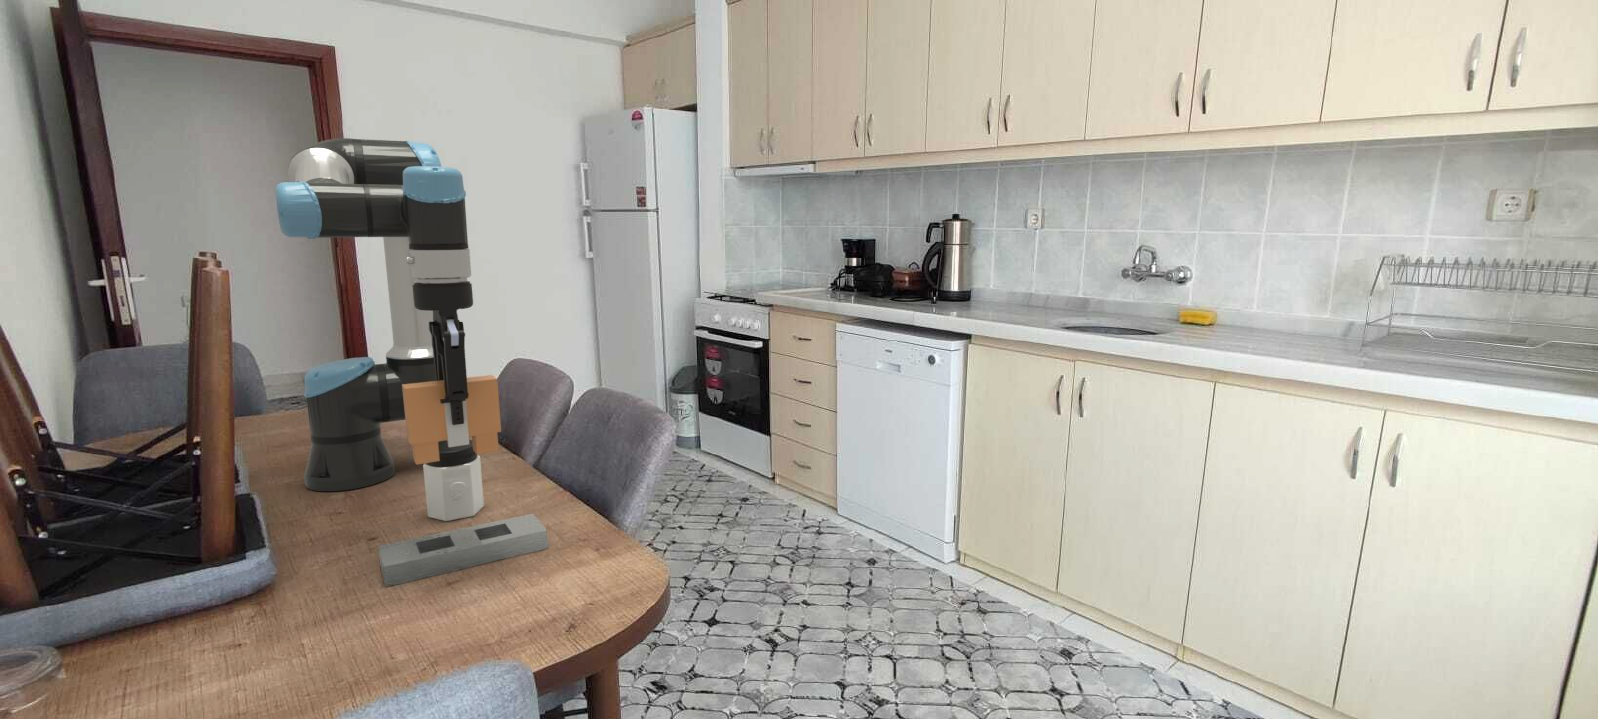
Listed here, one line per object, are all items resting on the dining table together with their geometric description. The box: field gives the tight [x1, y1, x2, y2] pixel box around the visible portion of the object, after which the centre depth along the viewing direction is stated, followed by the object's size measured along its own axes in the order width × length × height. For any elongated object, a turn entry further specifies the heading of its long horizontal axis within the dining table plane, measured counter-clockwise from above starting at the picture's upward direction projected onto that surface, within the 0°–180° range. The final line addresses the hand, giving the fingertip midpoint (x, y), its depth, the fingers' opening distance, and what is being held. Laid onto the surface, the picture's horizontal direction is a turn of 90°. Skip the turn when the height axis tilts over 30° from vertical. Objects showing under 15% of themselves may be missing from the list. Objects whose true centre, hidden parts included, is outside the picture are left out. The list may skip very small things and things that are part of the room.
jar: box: [422, 439, 485, 522], centre depth 127 cm, size 9×8×12 cm
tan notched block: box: [402, 374, 502, 465], centre depth 106 cm, size 4×12×11 cm, turn 124°
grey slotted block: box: [377, 513, 549, 588], centre depth 110 cm, size 8×22×3 cm, turn 124°
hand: (456, 441), depth 107 cm, fingers closed on tan notched block, 3 cm apart
